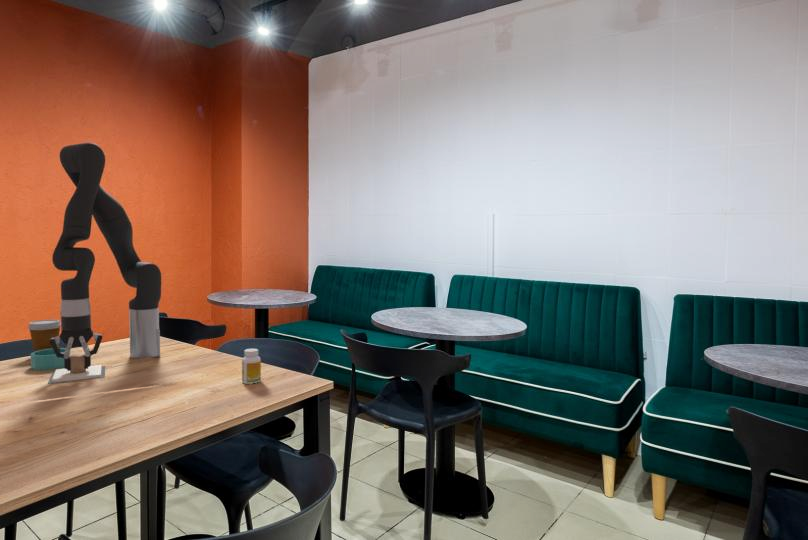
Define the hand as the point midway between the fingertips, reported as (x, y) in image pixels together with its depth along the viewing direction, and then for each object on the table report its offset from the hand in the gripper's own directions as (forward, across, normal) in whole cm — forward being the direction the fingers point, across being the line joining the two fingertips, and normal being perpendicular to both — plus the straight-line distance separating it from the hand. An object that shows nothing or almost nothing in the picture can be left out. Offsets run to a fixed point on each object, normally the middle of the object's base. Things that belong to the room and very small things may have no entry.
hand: (77, 368), depth 151 cm
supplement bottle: (+2, -45, +29) cm, 54 cm away
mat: (+2, 0, 0) cm, 2 cm away
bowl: (+2, +8, -15) cm, 17 cm away
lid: (+2, 0, 0) cm, 2 cm away
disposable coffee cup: (+2, +11, -33) cm, 35 cm away
